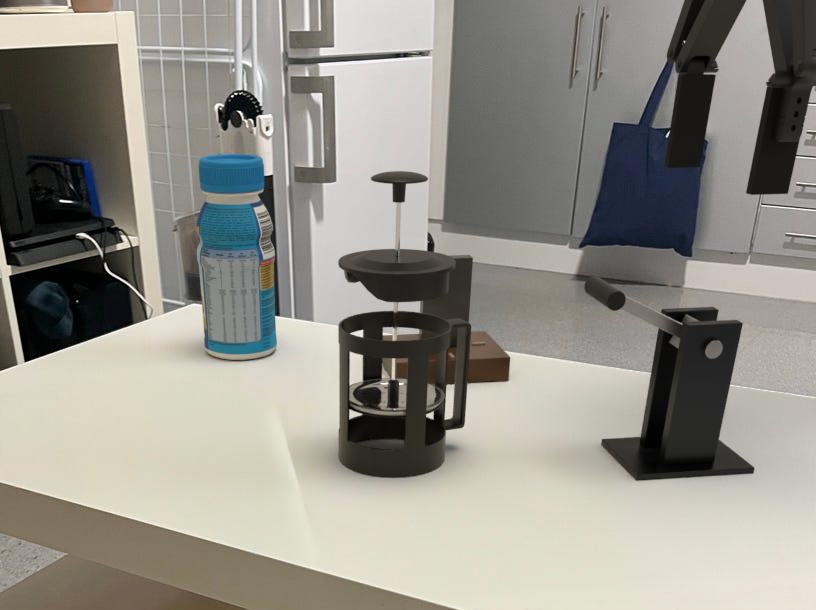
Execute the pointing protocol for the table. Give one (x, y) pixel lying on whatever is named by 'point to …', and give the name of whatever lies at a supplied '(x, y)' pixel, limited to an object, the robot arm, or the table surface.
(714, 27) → the robot arm
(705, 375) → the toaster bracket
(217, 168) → the beverage bottle
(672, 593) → the table surface
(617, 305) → the lever
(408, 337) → the brown box
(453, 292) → the dark gray upright plate
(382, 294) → the french press
